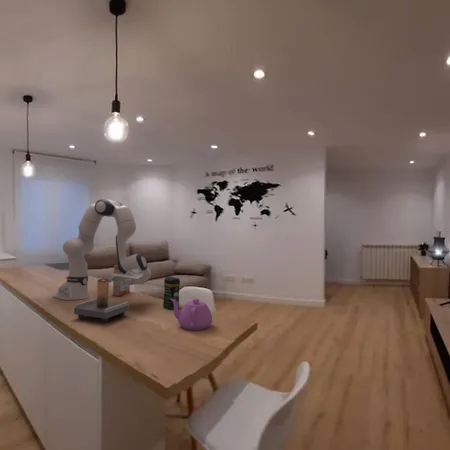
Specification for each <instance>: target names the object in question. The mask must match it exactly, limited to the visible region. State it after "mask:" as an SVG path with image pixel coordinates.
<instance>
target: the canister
mask: <svg viewBox="0 0 450 450" xmlns="http://www.w3.org/2000/svg"><path fill="white" fill-rule="evenodd" d="M96 285H97V286H96V287H97V290H96V299H97V307H99V308H104V307H108V302H109V285H110V280H109V278H108V279H107V278H100V279H97V284H96Z"/></svg>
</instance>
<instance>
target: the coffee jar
mask: <svg viewBox="0 0 450 450" xmlns="http://www.w3.org/2000/svg"><path fill="white" fill-rule="evenodd" d="M163 287H164V294H163V300H162V301H163V303H162V307H163V308H165V309H168V310H174V304H173V301H172V300H171V299H174V300H176V301H177V304H178V309H179V307H180V287H181V281H180V279H179V277H175V276H167V277H165V278H164V281H163Z"/></svg>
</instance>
